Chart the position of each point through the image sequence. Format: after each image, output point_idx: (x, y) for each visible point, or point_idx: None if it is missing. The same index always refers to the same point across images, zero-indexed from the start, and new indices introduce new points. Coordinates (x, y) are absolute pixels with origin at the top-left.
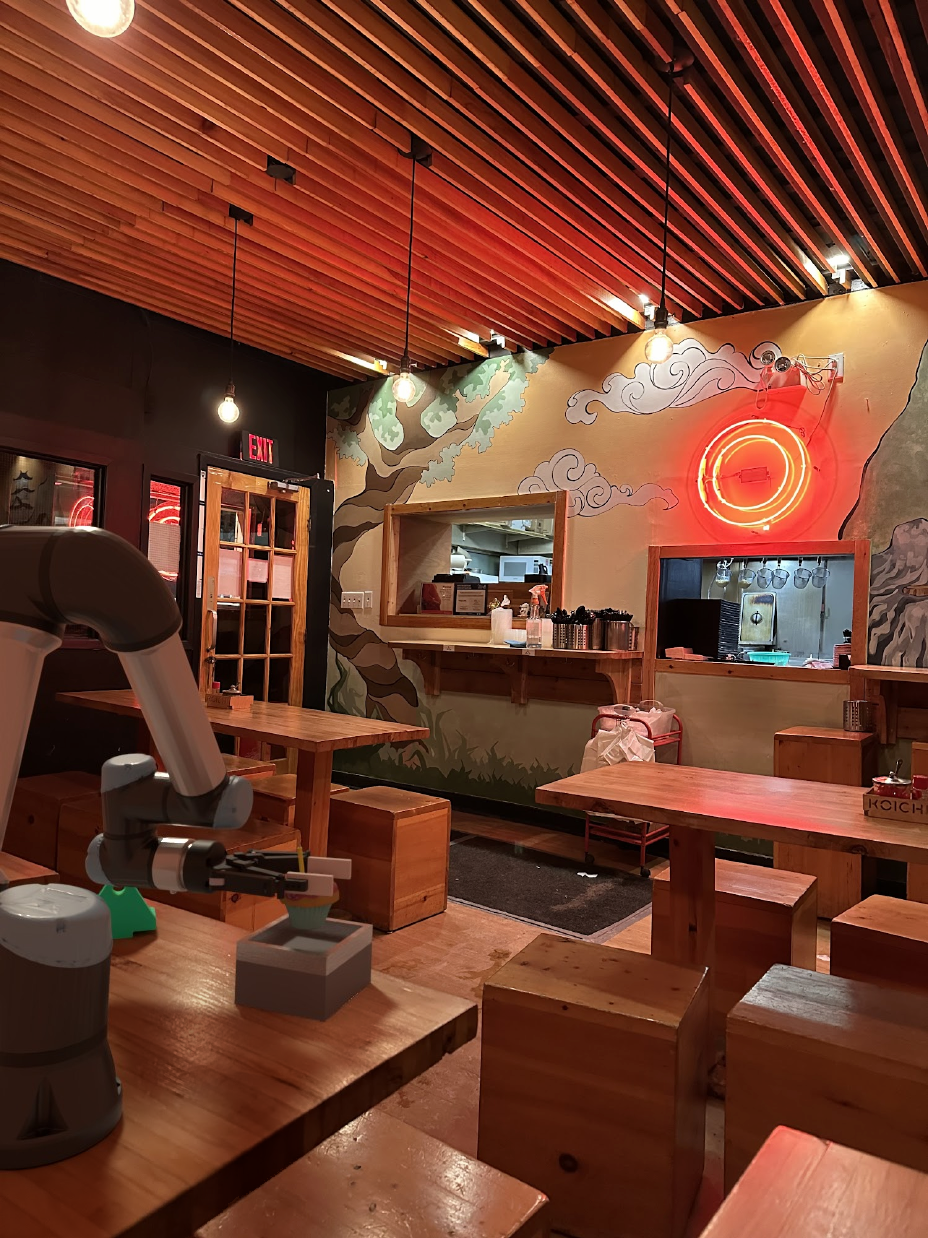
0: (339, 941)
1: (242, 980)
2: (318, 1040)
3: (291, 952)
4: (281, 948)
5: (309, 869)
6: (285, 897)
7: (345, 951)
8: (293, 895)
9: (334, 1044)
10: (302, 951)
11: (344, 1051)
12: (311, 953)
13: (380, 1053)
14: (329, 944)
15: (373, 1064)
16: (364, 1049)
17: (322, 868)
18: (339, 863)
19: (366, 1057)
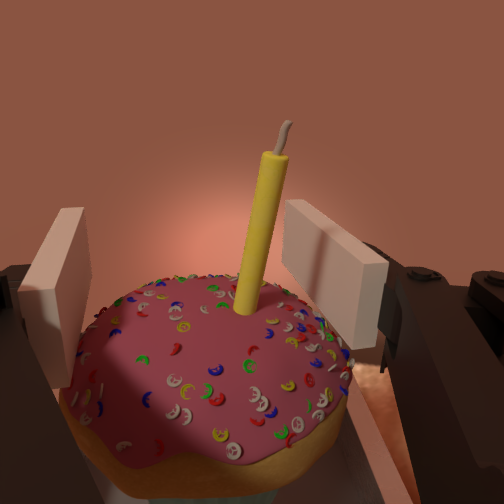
0: (98, 487)
1: None
2: (398, 458)
3: (387, 451)
4: (397, 486)
5: (65, 345)
6: (348, 387)
7: None
8: (340, 347)
9: (387, 430)
10: (366, 423)
11: (391, 409)
12: (358, 400)
13: (357, 373)
14: (134, 502)
15: (387, 369)
16: (364, 391)
17: (73, 296)
18: (81, 234)
19: (380, 381)
